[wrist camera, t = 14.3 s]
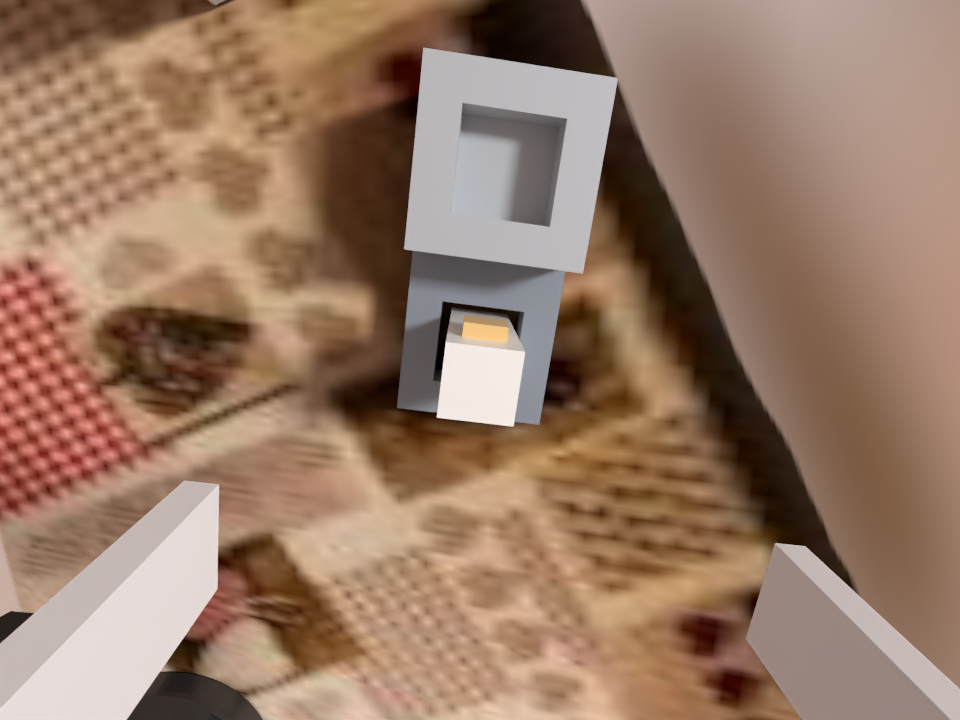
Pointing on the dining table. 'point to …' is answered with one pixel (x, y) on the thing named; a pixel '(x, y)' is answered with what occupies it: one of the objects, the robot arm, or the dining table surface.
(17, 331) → the dining table surface
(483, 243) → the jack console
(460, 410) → the plug
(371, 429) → the dining table surface
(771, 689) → the dining table surface
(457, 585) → the dining table surface
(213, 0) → the tea box
